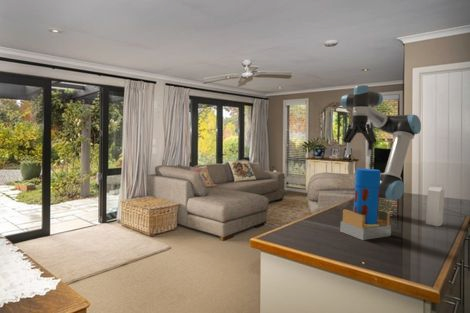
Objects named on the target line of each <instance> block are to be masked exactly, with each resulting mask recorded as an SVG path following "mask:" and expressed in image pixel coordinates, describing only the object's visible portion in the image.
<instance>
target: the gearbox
mask: <svg viewBox="0 0 470 313" xmlns="http://www.w3.org/2000/svg"><path fill="white" fill-rule="evenodd" d="M390 213H391V212H390V211H387V210H381V209H379V211H378V222H377V224H372V225H370V224H365V215H363V214H360V213H357V212H354V211H353V210H349V209H346V208H345V209H343V210H342V220H340V226H339V227H340V229H339V230H340V231H339V232H341V233H344V234H347V235H349V236H352V237H354V238H356V239H358V240H359V239H360V240H362V241H366V240H372V239H378V238H379V239H380V238H385V237H391V236H392V235H391V234H392V225H391V224H390V218H391V217H390V216H391V214H390Z"/></svg>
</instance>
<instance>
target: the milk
mask: <svg viewBox="0 0 470 313" xmlns="http://www.w3.org/2000/svg"><path fill="white" fill-rule="evenodd" d="M443 187H444V186H443V184H434V183H430V186H429V188H428V189H427V200H426V215H425V224H426V225H430V226H434V227H440V226H442V225H443V217H444V203H445V202H444V201H445V189H444V188H443Z"/></svg>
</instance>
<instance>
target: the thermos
mask: <svg viewBox="0 0 470 313" xmlns="http://www.w3.org/2000/svg"><path fill="white" fill-rule="evenodd" d="M380 177H381V170H380V169H374V168H372V169H371V168H356V169H355V181H354V182H355V183H354V201H353V202H354V203H353V206H354V211H353V212H357V213H360V214H363V215H365V224H370V225H372V224H377V222H378V211H379V210H380V209H379V208H380V198H379V193H380Z"/></svg>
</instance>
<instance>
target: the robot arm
mask: <svg viewBox="0 0 470 313" xmlns="http://www.w3.org/2000/svg"><path fill="white" fill-rule="evenodd" d="M383 101H384V96H383V95H382V94H381V93H379V92H377V91H372V90H371V91H370V86H369V85H367V84H366V85H364V84H361V85H356V86H354V88H353V93H348V94H344V95H342V96H341V98H340V105H341V107H343V108H346V109H348V108H349V109H351V110H352V115H353V116H352V117H351V118H352V123H353V124H348V125H347V130H346V132H345V134H344V136H343V139H342V141H343V142H344V143H345V149H346V150H345V151H346V153H345V155H348V156H350V155H352V141H353V139H354V137H355V136H356V135H357V134H362V135H363V136H364V139H365V140H366V148H365V150H366V151H365V157H371V156H372V150H373V146H374V145H373V144H374V143H376V142H377V139H376V136H375V134H374V130H373V127H375V128H376V129H378V130H380V131H382V132H384V133H387V134H391V135H393V137H394V138H393V143H392V146H391V149H390V152H389V156H388V160H387V163H386V166H385V169H384V172H383V173H380V193H379V199H384V200H389V201H390V200H392V201H397V200H399V199H400V198H401V197H402V196H403V195H404V191H405V184H404V182H403V179H402V177H401V174H402V171H403V168H404V164H405V160H406V157H407V154H408V150H409V146H410V143H411V140H413V139H414V138H415V136H416V135H417V134H420V132H421V130H422V122H421V120H420V118H419V116H418V115H417V114H399V115H398V114H397V115H388V114H386V113H384V112H383V113H382V112H380V111H379V110H377V109H376V108H374V107H379V106H380V105H381V104H382V103H383ZM368 121H369V122H371V123H368ZM352 211H353V212H354V205H353V206H352Z"/></svg>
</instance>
